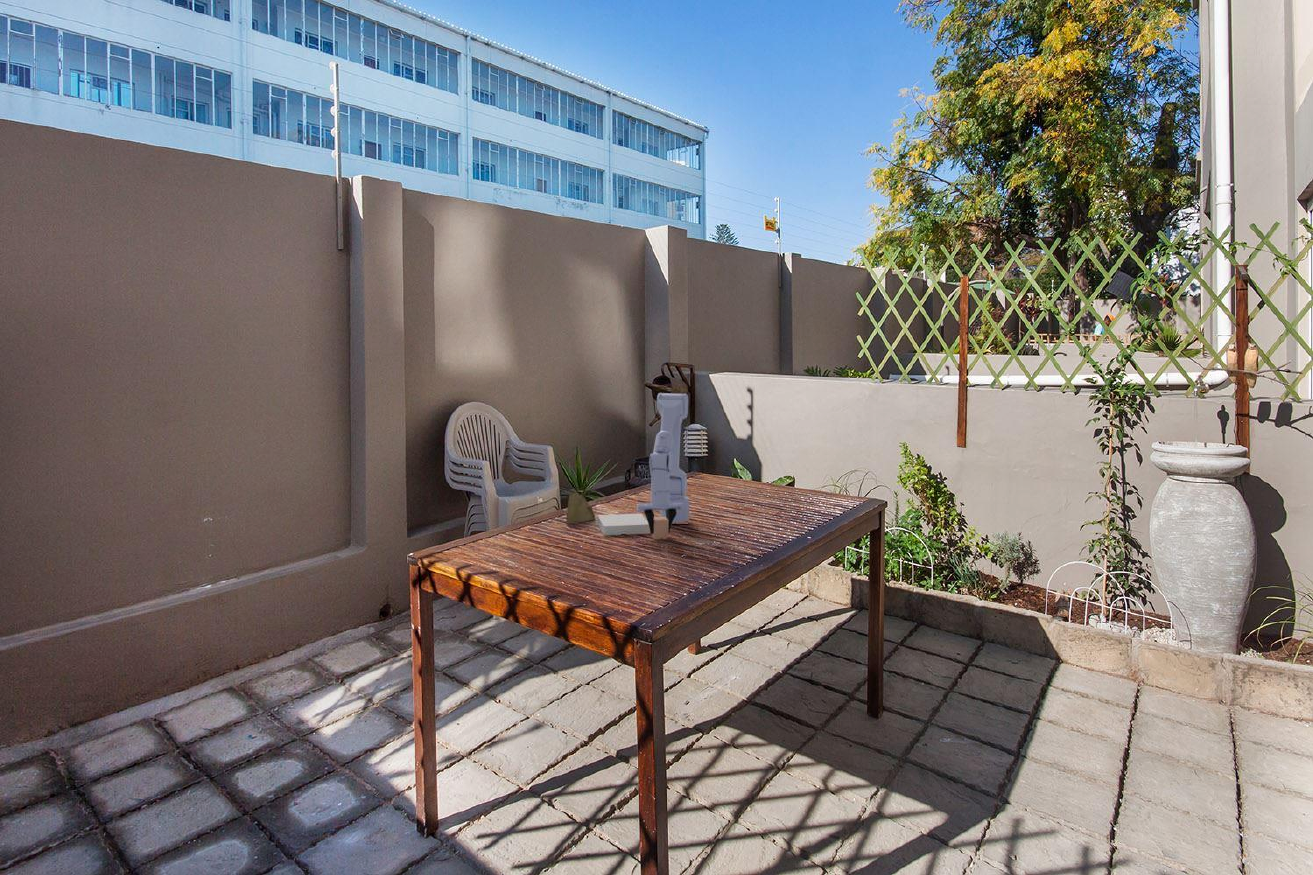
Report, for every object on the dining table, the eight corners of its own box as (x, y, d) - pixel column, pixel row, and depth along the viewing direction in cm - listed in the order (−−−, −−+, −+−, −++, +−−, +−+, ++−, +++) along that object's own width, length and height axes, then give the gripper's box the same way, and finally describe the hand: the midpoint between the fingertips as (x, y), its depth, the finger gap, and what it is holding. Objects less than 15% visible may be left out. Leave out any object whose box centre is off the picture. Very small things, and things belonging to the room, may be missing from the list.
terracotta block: (665, 535, 232) (665, 516, 231) (668, 538, 228) (668, 520, 227) (651, 535, 231) (651, 517, 230) (654, 539, 227) (654, 520, 226)
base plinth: (641, 522, 248) (641, 513, 248) (650, 533, 234) (650, 524, 234) (597, 523, 245) (597, 515, 245) (603, 535, 231) (603, 526, 230)
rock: (596, 510, 256) (568, 506, 255) (599, 494, 250) (569, 490, 249) (593, 534, 248) (564, 530, 247) (595, 518, 242) (565, 514, 241)
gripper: (639, 493, 222) (639, 537, 224) (686, 492, 225) (685, 535, 227) (635, 489, 229) (635, 531, 231) (680, 487, 232) (679, 529, 234)
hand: (659, 532), depth 229 cm, fingers closed on terracotta block, 4 cm apart
